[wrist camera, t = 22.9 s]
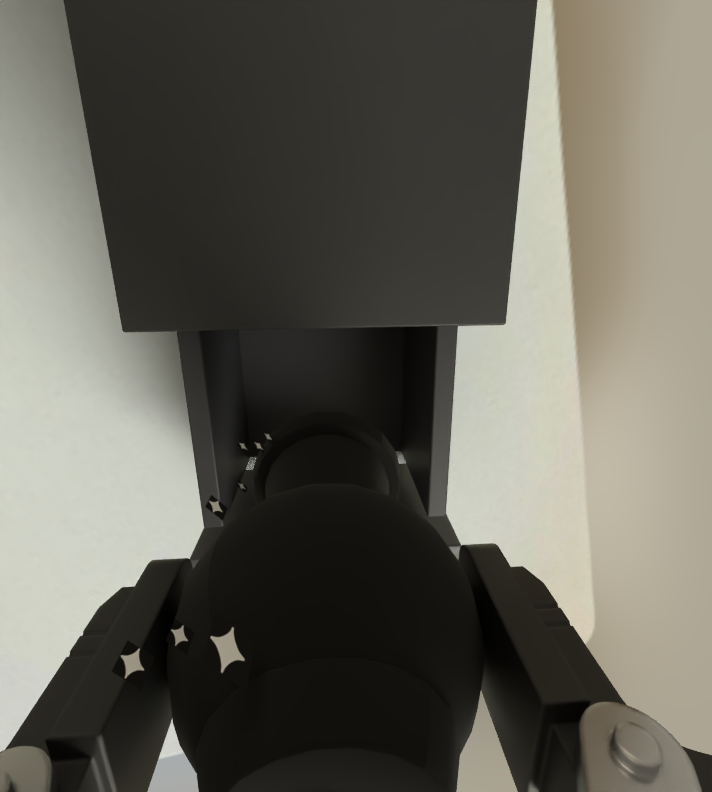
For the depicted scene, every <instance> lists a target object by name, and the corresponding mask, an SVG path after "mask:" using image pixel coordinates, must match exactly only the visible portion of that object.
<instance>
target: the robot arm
mask: <svg viewBox="0 0 712 792" xmlns="http://www.w3.org/2000/svg"><path fill="white" fill-rule="evenodd" d="M458 561H459V562H460V564H461V566H462V567H463V569H464V571H465V572H466V574H467V576H468V579H469V582H470V585H471V588H472V591H473V595H474V599H475V603H476V607H477V611H478V615H479V620H480V624H481V628H482V634H483V641H484V649H485V656H484V672H483V679H482V685H481V690H482V693H483V696H484V699H485V702H486V705H487V707H488V710H489V713H490V716H491V718H492V721H493V724H494V727H495V730H496V732H497V735H498V738H499V741H500V743H501V746H502V749H503V752H504V754H505V757H506V760H507V763H508V765H509V768H510V771H511V774H512V777H513V779H514V782H515V785H516V788H517V791H518V792H712V755H708V754H704V753H701V752H697V751H694V750H691V749H688V748H685V747H683V746H681V745H680V743H679V742H678V741H677V740H676V739H675V738H674V737H673V736H672V735H671V734H670V733H669V732H668V731H667V730H666V729H665V728H664V727H663V726H662V725H660V724H659V723H658V722H657V721H655V720H654V719H652V718H651V717H649V716H648V715H646V714H645V713H643V712H641V711H639V710H637V709H635V708H632V707H630V706H627V705H626V704H625V702H624V701H623V700H622V699H621V697H620V696H619V694H618V693H617V691H616V690H615V688H614V687H613V685H612V684H611V682H610V681H609V679H608V678H607V676H606V675H605V673H604V672H603V670H602V669H601V667H600V666H599V665H598V663H597V662H596V660H595V659H594V657H593V656H592V654H591V653H590V651H589V650H588V648H587V647H586V645H585V644H584V642H583V641H582V639H581V638H580V636H579V635H578V633H577V632H576V630H575V629H574V627H573V626H570V623H569V620H568V619H567V617H566V616H565V614H564V613H563V611H562V610H561V608H558V604H557V602H556V601H555V599H554V598H553V596H552V595H551V593H550V592H549V590H548V589H547V587H546V586H545V584H544V583H543V582H542V581H540V580H539V579H538V578H537V577H535V576H534V575H533V574H532V573H530V572H529V571H528V570H527V569H525V568H524V567H523V566H522V567H510V565H509V563H508V562H507V560H506V558H505V557H504V555H503V553H502V552H501V550H500V549H499V547H498V546H497V545H496V544H473V545H462V546H461V547H460V550H459V559H458ZM192 570H193V567H192V563H191V561H190V559H188V558H184V559H164V560H152V561H151V562H150V563H149V564H148V565H147V567H146V568H145V570H144V572H143V573H142V575H141V577H140V579H139V580H138V582H137V584H136V585H135V587H122V588H121V589H120V590H119V591H118V592H116V593H115V594H114V595H113V596H112V597H111V598H110V599H108V600H107V601H106V602H105V603H104V604H103V605H102V606H100V607H99V608H98V610H97V611H96V613H95V615H94V616H93V618H92V619H91V621H90V622H89V624H88V625H87V627H86V628H85V630H84V631H83V636H80V637H79V639H78V640H77V642H76V643H75V645H74V646H73V648H72V650H71V651H70V656H69V657H66V659H65V660H64V662H63V663H62V665H61V666H60V668H59V669H58V671H57V672H56V674H55V675H54V677H53V678H52V680H51V681H50V683H49V684H48V686H47V688H46V689H45V691H44V692H43V694H42V695H41V697H40V698H39V700H38V701H37V703H36V704H35V706H34V707H33V709H32V710H31V712H30V713H29V715H28V716H27V718H26V719H25V721H24V723H23V724H22V726H21V727H20V729H19V730H18V732H17V733H16V735H15V736H14V738H13V739H12V741H11V742H10V744H9V745H8V746H7V748H6V749H5V750H4V751H1V752H0V792H147V791H148V787H149V785H150V782H151V779H152V776H153V773H154V770H155V767H156V764H157V761H158V758H159V755H160V752H161V749H162V746H163V743H164V740H165V737H166V734H167V732H168V729H169V726H170V723H171V720H172V710H171V702H170V695H169V687H168V676H167V664H166V660H167V651H168V642H167V641H166V639H167V637H168V634H169V632H170V630H171V627H172V625H173V622H174V620H175V617H176V614H177V611H178V607H179V604H180V601H181V597H182V594H183V591H184V588H185V585H186V582H187V579H188V578H189V576H190V574H191V572H192ZM127 641H130V642H132V643H133V644H135V645H136V646H138V647H139V648H141V649H142V650H144V651H146V652H147V653H149V654H150V655H152V656H153V657H155V659H154V661H153V664H152V666H151V668H150V671H149V673H148V675H147V678H146V680H145V682H144V685H143V687H142V689H139V688H137V687H136V686H134V685H132V684H131V683H129V682H128V681H126V680H124V679H123V678H121V677H119V676H118V675H116V674H115V673H113V672H111V671H112V669H113V667H114V665H115V664H116V662H117V660H118V658H119V656H120V654H121V652H122V650H123V648H124V646H125V644H126V642H127Z"/></svg>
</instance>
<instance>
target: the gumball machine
mask: <svg viewBox="0 0 712 792" xmlns="http://www.w3.org/2000/svg"><path fill="white" fill-rule="evenodd" d="M263 436H264V437H265V438H266V439H267V441H266V442H265V443H264V445H263V446H262V445H261V444H260V443H259V442H258V441H257V440H256V439H255V441H254V443H253V445H254V446H255V447H256V448H257V449H258V450H259V453H258V456H257V459H256V462H255V465H254V469H253V482H254V501H255V503H256V506H254V507H253V508H251V509H250V510H248V511H247V512H245V513H244V514H242V515H241V516H239V517H237V518H236V519H234V520H233V521H231V522H230V523H229V524H228V526H227V527H226V528H225V529H224V530H223V531H222V532H221V533H220V535H219V536H218V537H217V539H216V540H215V541H214V542H213V544H212V545H211V546H210V547H209V549H208V550H207V551H206V552H205V554H204V555H203V556H202V557H201V559H200V560H199V561H198V562H197V564H196V565H195V567H194V569H193V570H192V572H191V574H190V576H189V578H188V579H187V582H186V585H185V588H184V591H183V594H182V597H181V601H180V604H179V607H178V611H177V614H176V617H175V620H174V622H173V625H172V627H171V630H170V632H169V634H168V637H167V639H166V641H167V642H168V651H167V660H166V664H167V676H168V687H169V695H170V702H171V710H172V718H173V724H174V727H175V731H176V734H177V737H178V740H179V744H180V746H181V748H182V750H183V751H184V753H185V755H186V757H187V758H188V760H189V762H190V763H191V765H192V767H193V768H194V770H195V772H196V773H197V780H198V788H199V792H456V790H457V778H458V767H459V757H460V754H461V752H462V750H463V747H464V746H465V743H466V742H467V739H468V738H469V736H470V734H471V732H472V728H473V724H474V720H475V716H476V712H477V708H478V702H479V696H480V691H481V685H482V679H483V672H484V656H485V649H484V641H483V634H482V628H481V624H480V620H479V615H478V611H477V607H476V603H475V599H474V595H473V591H472V588H471V585H470V582H469V579H468V576H467V574H466V572H465V571H464V569H463V567H462V566H461V564H460V562H459V561H458V559H457V558H456V556H455V555H454V554H453V552H452V551H451V550H450V548H449V547H448V545H447V544H446V543H445V541H444V540H443V538H442V537H441V536H440V534H439V533H438V532H437V530H436V529H435V528H434V527H433V526H432V525H431V524H430V523H429V522H428V521H427V520H426V519H424V518H423V517H422V516H420V515H419V514H417V513H416V512H414V511H413V510H411V509H410V508H408V507H407V506H405V505H404V504H402V503H401V502H399V501H398V500H399V488H400V467H399V463H398V460H397V456H396V452H395V450H394V448H393V447H392V445H391V444H390V443H389V441H388V440H387V438H386V437H385V436H384V434H383V433H382V432H381V431H380V430H378V429H377V428H375V427H374V426H373V425H371V424H370V423H368V422H367V421H366V420H364V419H362V418H359V417H356V416H353V415H349V414H346V413H343V412H320V411H317V412H313V413H310V414H306V415H303V416H300V417H296V418H293V419H292V420H290V421H289V422H287V423H286V424H284V425H283V426H281V427H280V428H278V429H277V430H275V431H274V432H273V433H272V434H271V435H269V434H268V433H267V432H266V431H264V434H263ZM237 445H238V446H239V447H240V448H241V449H242V450H243V451H245V452H246V453H247V454H248V452H249V449H250V448H249V447H248V446H247V445H246V444H245V443H243V442H242V441H241V440H239V442H238V444H237ZM237 486H238V487H239V488H240V489H241V490H242V491H244V492H245V493H246V491H247V488H248V487H247V486H245V485H244V484H243V483H242V482H241V481H239V482H238V484H237ZM205 507H206V508H207V509H209V510H210V511H211V512H212V513H214V514H215V515H216V516H217V517H219V518H220V519H221V520H223V519H224V516H225V514H226V511H227V509H228V508H227V507H226V506H225V505H223V504H222V503H221V502H220V501H218V500H217V499H216V498H215V497H213V496H212V495H211V496H210V498H209V500H208V502H207V504H206V506H205ZM154 659H155V657H153V656H152V655H150V654H149V653H147V652H146V651H144V650H142V649H141V648H139V647H138V646H136V645H135V644H133V643H132V642H130V641H127V642H126V644H125V646H124V648H123V650H122V652H121V654H120V656H119V658H118V660H117V662H116V664H115V665H114V667H113V669H112V671H111V672H113V673H115V674H116V675H118V676H119V677H121V678H123V679H124V680H126V681H128V682H129V683H131V684H132V685H134V686H136V687H137V688H139V689H142V687H143V685H144V682H145V680H146V678H147V675H148V673H149V671H150V668H151V666H152V664H153V661H154Z"/></svg>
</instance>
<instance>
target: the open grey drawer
mask: <svg viewBox="0 0 712 792" xmlns="http://www.w3.org/2000/svg"><path fill="white" fill-rule="evenodd" d="M457 329H458V326H421V327H370V328H319V329H268V330H217V331H177V336H178V343H179V350H180V358H181V365H182V372H183V379H184V386H185V393H186V401H187V408H188V415H189V422H190V429H191V436H192V444H193V451H194V458H195V465H196V472H197V479H198V487H199V494H200V501H201V508H202V515H203V522H204V529H203V531H202V534H201V536H200V538H199V540H198V542H197V545H196V547H195V549H194V551H193V553H192V555H191V558H190V561H191V563H192V567H193V569H194V567H195V565H196V564H197V562H198V561H199V560H200V559H201V557H202V556H203V555H204V554H205V552H206V551H207V550H208V549H209V547H210V546H211V545H212V544H213V542H214V541H215V540H216V539H217V537H218V536H219V535H220V533H221V532H222V531H223V530H224V529H225V528H226V527H227V526H228V524H229V523H230V522H231V521H233V520H234V519H236V518H237V517H239V516H241V515H242V514H244V513H245V512H247V511H248V510H250V509H251V508H253V507H254V506H256V503H255V501H254V482H253V470H245V469H246V467H247V464H248V462H249V459H250V457H257V456H258V453H259V450H258V449H257V448H256V447H255V446H254V445H253V443H254V441H255V439H256V440H257V441H258V442H259V443H260V444H261V445H262V446H263V445H264V443H265V442H266V441H267V439H266V438H265V437H264V436H263V434H264V431H266V432H267V433H268V434H269V435H271V434H272V433H273V432H274V431H275V430H277V429H278V428H280V427H281V426H283V425H284V424H286V423H287V422H289V421H290V420H292V419H293V418H296V417H300V416H303V415H306V414H310V413H313V412H317V411H320V412H343V413H346V414H349V415H353V416H356V417H359V418H362V419H364V420H366V421H367V422H368V423H370V424H371V425H373V426H374V427H375V428H377V429H378V430H380V431H381V432H382V433H383V434H384V436H385V437H386V438H387V440H388V441H389V443H390V444H391V445H392V447H393V448H394V450H395V451H402V454H403V456H404V459H405V461H406V464H399V467H400V488H399V500H398V501H399V502H401V503H402V504H404V505H405V506H407V507H408V508H410V509H411V510H413V511H414V512H416V513H417V514H419V515H420V516H422V517H423V518H424V519H426V520H427V521H428V522H429V523H430V524H431V525H432V526H433V527H434V528H435V529H436V530H437V532H438V533H439V534H440V536H441V537H442V538H443V540H444V541H445V543H446V544H447V545H448V547H449V548H450V550H451V551H452V552H453V554H454V555H455V556H456V558H457V559H459V550H460V547H461V544H460V542H459V540H458V538H457V536H456V534H455V532H454V530H453V527H452V525H451V523H450V521H449V519H448V517H447V515H446V500H447V485H448V469H449V453H450V438H451V422H452V407H453V391H454V375H455V360H456V344H457ZM239 440H241V441H242V442H243V443H245V444H246V445H247V446H248V447H249V448H250V449H249V452H248V454H247V453H246V452H245V451H243V450H242V449H241V448H240V447H239V446H238V445H237V444H238V442H239ZM239 481H241V482H242V483H243V484H244V485H245V486H247V487H248V488H247V491H246V493H245V492H244V491H242V490H241V489H240V488H239V487H238V486H237V484H238V482H239ZM211 495H212V496H213V497H215V498H216V499H217V500H218V501H220V502H221V503H222V504H223V505H225V506H226V507H227V508H228V509H227V511H226V514H225V516H224V519H223V520H221V519H220V518H219V517H217V516H216V515H215V514H214V513H212V512H211V511H210V510H209V509H207V508H206V507H205V506H206V504H207V502H208V500H209V498H210V496H211Z"/></svg>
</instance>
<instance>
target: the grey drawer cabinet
mask: <svg viewBox="0 0 712 792" xmlns="http://www.w3.org/2000/svg"><path fill="white" fill-rule="evenodd" d="M64 5H65V10H66V16H67V22H68V27H69V33H70V38H71V44H72V50H73V55H74V61H75V66H76V72H77V78H78V83H79V89H80V94H81V100H82V106H83V111H84V117H85V122H86V128H87V134H88V139H89V145H90V150H91V156H92V162H93V167H94V173H95V178H96V184H97V190H98V195H99V201H100V206H101V212H102V218H103V223H104V229H105V234H106V240H107V246H108V251H109V257H110V262H111V268H112V274H113V279H114V285H115V290H116V296H117V302H118V307H119V313H120V318H121V324H122V330H123V332H167V331H217V330H268V329H319V328H370V327H421V326H472V325H504V324H505V323H506V313H507V303H508V293H509V283H510V272H511V262H512V252H513V242H514V232H515V222H516V211H517V201H518V191H519V181H520V171H521V161H522V150H523V140H524V130H525V120H526V110H527V100H528V89H529V79H530V69H531V59H532V49H533V39H534V28H535V18H536V8H537V0H64Z"/></svg>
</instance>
